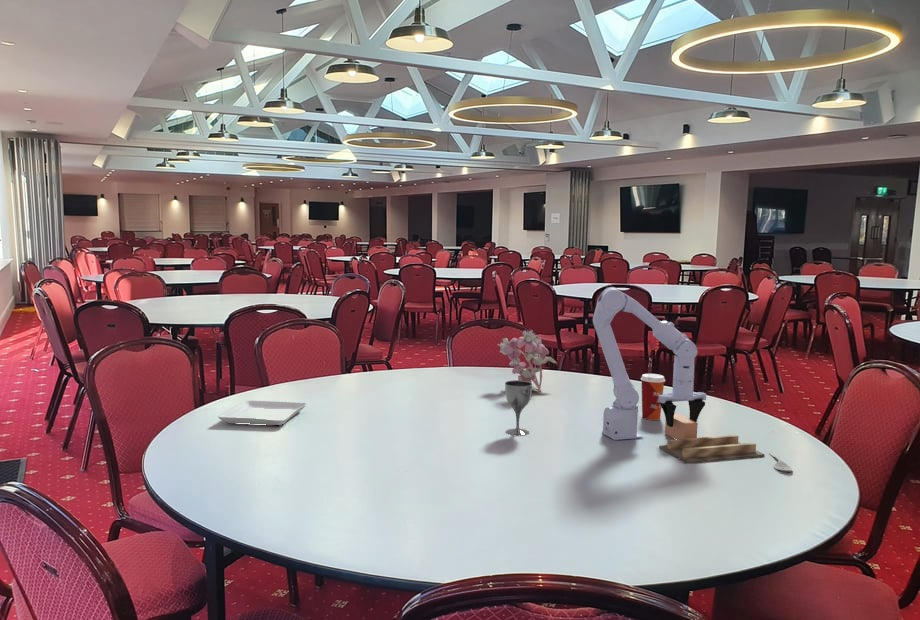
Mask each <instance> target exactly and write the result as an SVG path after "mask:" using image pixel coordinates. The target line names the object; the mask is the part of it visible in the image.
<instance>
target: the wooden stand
mask: <svg viewBox="0 0 920 620" xmlns="http://www.w3.org/2000/svg"><path fill="white" fill-rule="evenodd" d="M666 442H667V443H666V444H663V445H662V444H661V445H659V449H661V450H662V449H663V450H662V451H664V452H666V453H668V454H669V455H671V456H673V457H675V458H676V459H678V460H679V461H682V462H683V463H685V464H696V463H704V462H705V463H707V462H717V461H718V462H719V461H729V460H731V461H732V460H739V459H750V458H751V459H752V458H762V457H765V456H766V454H764V453H763V452H760V451H758V450H757V444H756V443H755V442H745V443H741V442H739V436H738V435H737V434H732V435H731V434H729V435H717V436H716V435H715V436H706V437H704V436H703V437H697V438H690V439H677V440H676V439H667V441H666Z"/></svg>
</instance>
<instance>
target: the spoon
mask: <svg viewBox="0 0 920 620" xmlns="http://www.w3.org/2000/svg"><path fill="white" fill-rule="evenodd" d="M768 454H769V455H770V456H772V457H773V458H774V459H776V460H777V462H775V464H774V465H773V468H774V469H776V470H778V471H780V472H784V473H786V472H792V471H793V469H792V467H791V465H788V464H787V463H785V462H784V461H783V460H782V459H781V458H780V457H779V455H778V454H777V453H776V452H774V451H769V452H768Z"/></svg>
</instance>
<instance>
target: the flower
mask: <svg viewBox="0 0 920 620" xmlns="http://www.w3.org/2000/svg"><path fill="white" fill-rule="evenodd" d="M522 335H523V336H520V337H518V338H517V337H513V338H512V339H510V340H508V338H507V337H505V338H502V339H501V340H502V341H501V342H500V344H499V343H497V346H498V347H500V349H499V353H502V355H504V356H506V355H507V356H508V357H507V358H508V359H509V360H510V362H509V366H510V367H513V368H512V369H511V373H512V374H513V375H515V374H519V375H517V377H518V378H517V379H518V380H521V381H528V382H531V383H532V382H533V383H534V385H535V386H536V387H535V386H532V391H536V392H538V393H540V394H543V392H542V390H541V386H542V381H543V371H544V369H542V364H543V365H544V364H546V363H547V362H551V363H552V364H556V365H558V362H557V361H556V360H555V359H554V358H552V357H551V356H547V355H549V353H550V351H549V350H548V348H547V347H545V345H544V344H543V343H542V342H543V341H542V336H540V337H537V336H538V335H537V334H535V333H534V332H533V329H531V330H528V331H527V330H526V329H525V330H523V331H522ZM522 347H524V352H523V351H522V350H521V348H522ZM521 354H522V355H523V356H524V358H525V360H526V361H527V363H528V366H529V367H527V363H526V362H525V361H522V362H521V359H520V358H519V357H520V356H521ZM531 360H532V362H531ZM532 363H533V364H532ZM533 365H535V366H539V367H533ZM537 373H539V381H538V378H537V375H536V374H537Z"/></svg>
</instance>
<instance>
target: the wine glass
mask: <svg viewBox="0 0 920 620" xmlns="http://www.w3.org/2000/svg"><path fill="white" fill-rule="evenodd" d="M532 387H533V383H532V382H528V381H521V380H508V381H505V383H504V391H505V398H506V401H507V404H508V405H509V406H510V407H511V409H512V411H514V414H515V421H516V422H515V423H516V425H515V428H509V429H506V430H505V433H506V434H507V433H508V435H509V434H510V436H514V435H516V436H515V437H522V436H521V435H524V436H527V434H528V435H529V434H530V431H529V430H527V429H525V428H520V417H521V413H522V411H523V410H524V409H525V408H526V406H528V405H529V403H530V400H531V397H532V391H533V390H532ZM519 435H520V436H519Z"/></svg>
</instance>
